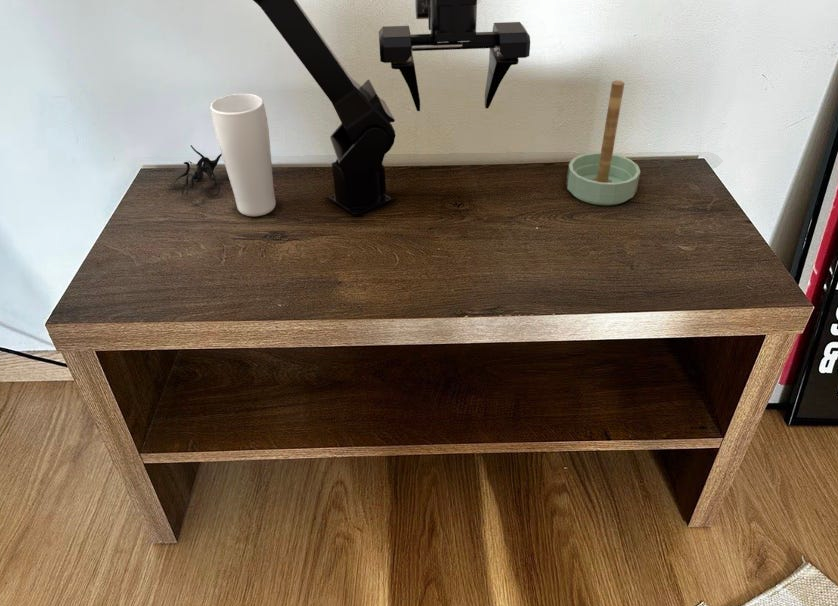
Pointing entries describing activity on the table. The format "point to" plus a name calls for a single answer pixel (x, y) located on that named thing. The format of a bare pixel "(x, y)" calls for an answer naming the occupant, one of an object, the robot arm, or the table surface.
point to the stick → (610, 131)
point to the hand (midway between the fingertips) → (452, 108)
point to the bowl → (602, 193)
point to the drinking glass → (245, 151)
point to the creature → (200, 171)
